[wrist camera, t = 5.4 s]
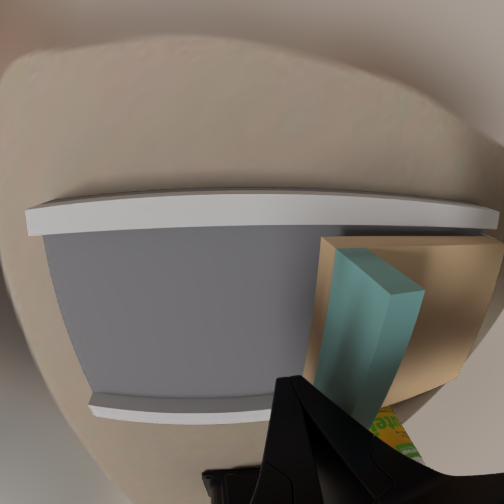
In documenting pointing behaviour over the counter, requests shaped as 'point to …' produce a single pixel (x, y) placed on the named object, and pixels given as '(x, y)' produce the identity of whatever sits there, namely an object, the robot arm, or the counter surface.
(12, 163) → the counter surface
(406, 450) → the supplement bottle
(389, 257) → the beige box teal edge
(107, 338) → the track
